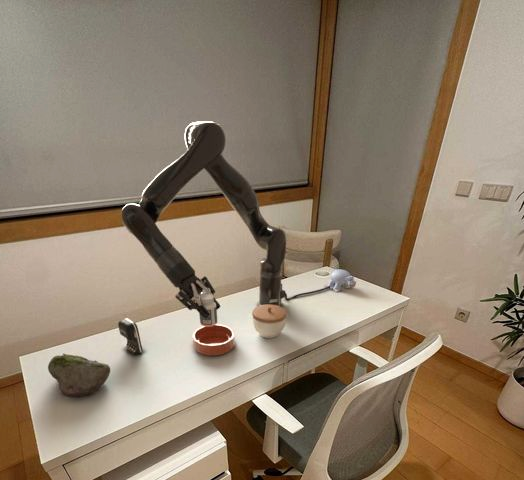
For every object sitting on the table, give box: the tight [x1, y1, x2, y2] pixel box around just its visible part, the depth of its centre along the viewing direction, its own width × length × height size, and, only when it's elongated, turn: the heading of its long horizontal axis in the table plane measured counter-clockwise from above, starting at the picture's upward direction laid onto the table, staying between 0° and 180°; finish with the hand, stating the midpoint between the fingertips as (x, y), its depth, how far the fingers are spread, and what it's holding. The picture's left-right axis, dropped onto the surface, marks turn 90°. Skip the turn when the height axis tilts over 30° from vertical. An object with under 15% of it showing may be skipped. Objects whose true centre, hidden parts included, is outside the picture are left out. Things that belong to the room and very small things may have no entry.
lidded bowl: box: [251, 305, 288, 339], centre depth 119 cm, size 13×13×11 cm
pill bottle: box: [198, 294, 218, 327], centre depth 97 cm, size 5×5×9 cm
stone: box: [47, 353, 111, 398], centre depth 94 cm, size 19×14×10 cm
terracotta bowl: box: [192, 324, 236, 356], centre depth 113 cm, size 14×14×4 cm
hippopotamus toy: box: [326, 265, 357, 292], centre depth 157 cm, size 11×15×10 cm
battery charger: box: [117, 317, 144, 355], centre depth 107 cm, size 7×4×11 cm, turn 49°
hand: (213, 312), depth 96 cm, fingers closed on pill bottle, 5 cm apart
